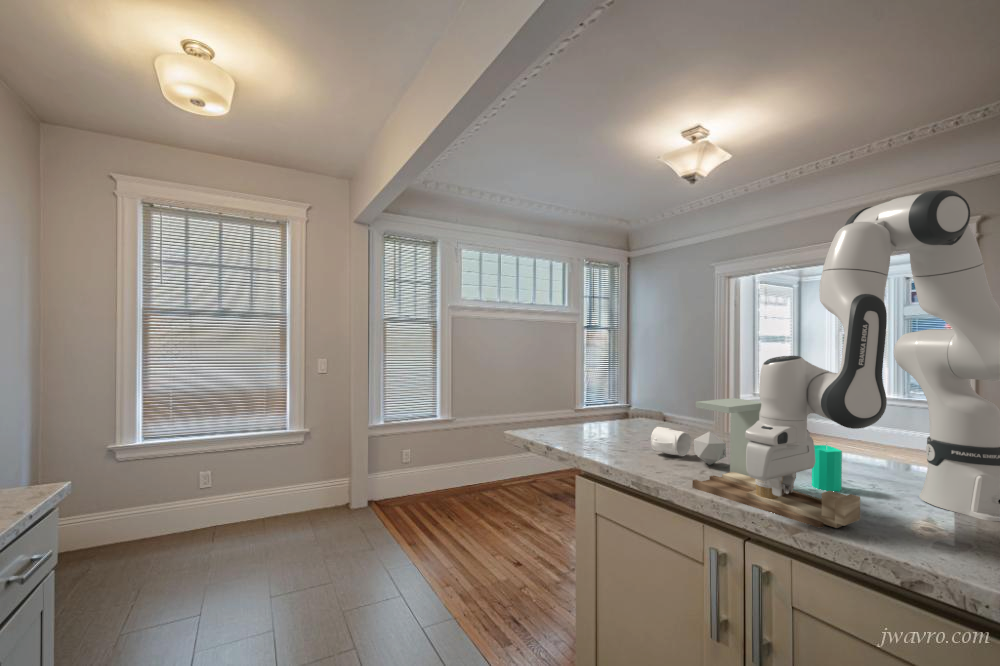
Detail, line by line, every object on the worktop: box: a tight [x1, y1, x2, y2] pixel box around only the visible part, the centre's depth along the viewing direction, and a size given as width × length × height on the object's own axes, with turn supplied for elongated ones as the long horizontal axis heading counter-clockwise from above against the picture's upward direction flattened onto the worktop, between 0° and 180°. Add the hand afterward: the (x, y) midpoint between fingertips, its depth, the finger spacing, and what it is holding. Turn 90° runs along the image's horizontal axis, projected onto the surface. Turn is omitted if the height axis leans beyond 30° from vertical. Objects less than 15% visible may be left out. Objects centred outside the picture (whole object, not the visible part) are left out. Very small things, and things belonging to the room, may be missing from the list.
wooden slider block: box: [721, 471, 795, 489], centre depth 110 cm, size 15×6×6 cm, turn 29°
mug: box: [650, 426, 693, 457], centre depth 144 cm, size 12×9×8 cm
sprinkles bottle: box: [756, 479, 778, 499], centre depth 100 cm, size 5×5×14 cm
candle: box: [811, 442, 843, 492], centre depth 112 cm, size 6×6×12 cm
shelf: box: [695, 397, 761, 476], centre depth 113 cm, size 9×15×22 cm, turn 119°
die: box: [693, 431, 727, 466], centre depth 132 cm, size 8×9×10 cm
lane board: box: [691, 471, 828, 529], centre depth 104 cm, size 29×15×2 cm, turn 29°
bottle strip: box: [747, 490, 861, 529], centre depth 95 cm, size 20×6×6 cm, turn 29°
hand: (782, 493), depth 98 cm, fingers closed
